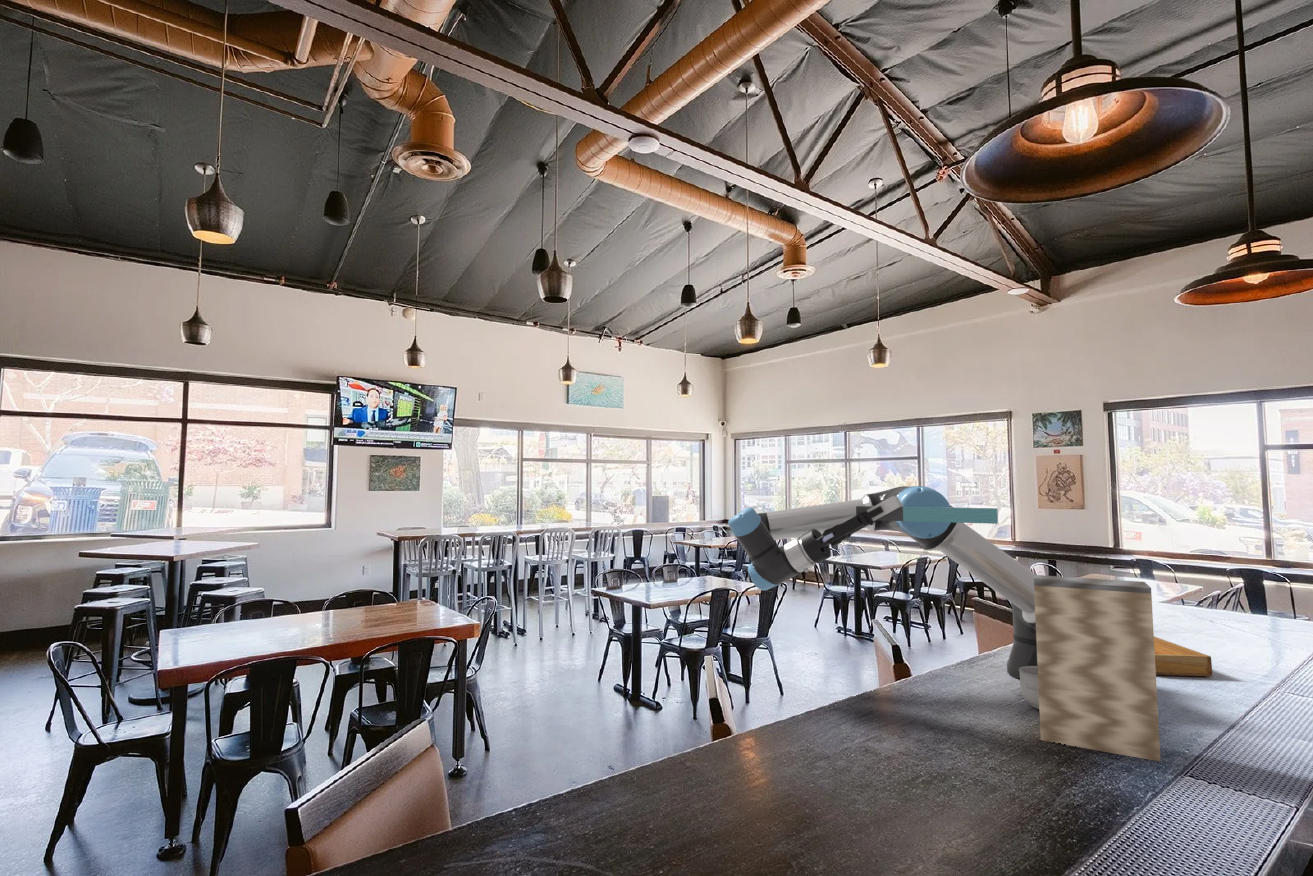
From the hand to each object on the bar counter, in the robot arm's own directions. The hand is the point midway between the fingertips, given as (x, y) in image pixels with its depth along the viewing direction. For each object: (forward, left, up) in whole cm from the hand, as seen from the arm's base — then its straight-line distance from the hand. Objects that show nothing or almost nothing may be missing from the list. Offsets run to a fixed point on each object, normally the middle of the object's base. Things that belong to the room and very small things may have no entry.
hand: (897, 501), depth 140 cm
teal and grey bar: (+3, +4, -4) cm, 7 cm away
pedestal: (+20, +28, -45) cm, 56 cm away
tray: (-32, +82, -45) cm, 99 cm away
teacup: (+2, +33, -45) cm, 56 cm away
